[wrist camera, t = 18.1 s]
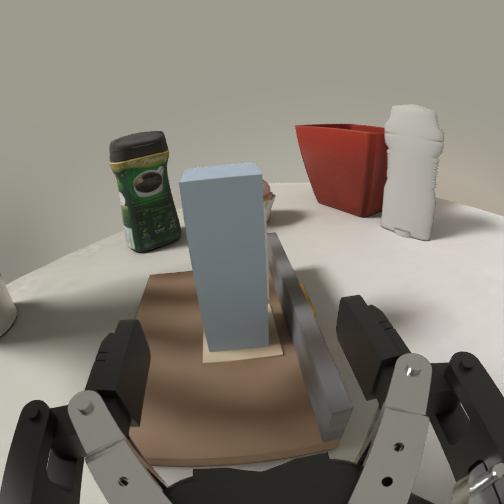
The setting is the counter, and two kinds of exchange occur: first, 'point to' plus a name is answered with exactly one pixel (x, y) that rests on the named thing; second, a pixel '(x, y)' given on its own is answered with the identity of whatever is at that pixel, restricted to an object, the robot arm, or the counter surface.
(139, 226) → the coffee jar
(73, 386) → the counter surface
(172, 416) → the shelf
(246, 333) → the carton
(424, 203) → the tall pale column
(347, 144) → the plant pot
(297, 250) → the counter surface
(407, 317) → the counter surface
